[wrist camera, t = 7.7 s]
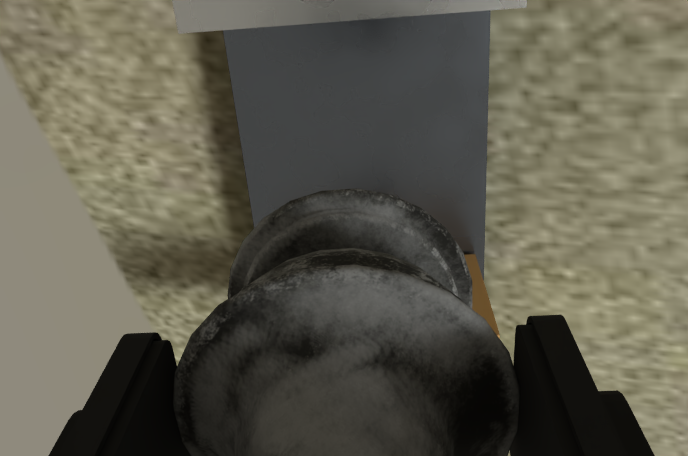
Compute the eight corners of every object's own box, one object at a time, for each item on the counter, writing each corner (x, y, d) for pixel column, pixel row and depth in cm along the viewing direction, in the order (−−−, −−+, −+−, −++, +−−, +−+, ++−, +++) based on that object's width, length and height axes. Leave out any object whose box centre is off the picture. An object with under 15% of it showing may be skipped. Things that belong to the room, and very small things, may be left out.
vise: (216, -74, 29) (160, -60, 21) (485, -97, 29) (531, -91, 21) (272, 297, 39) (248, 403, 31) (477, 287, 38) (507, 393, 30)
